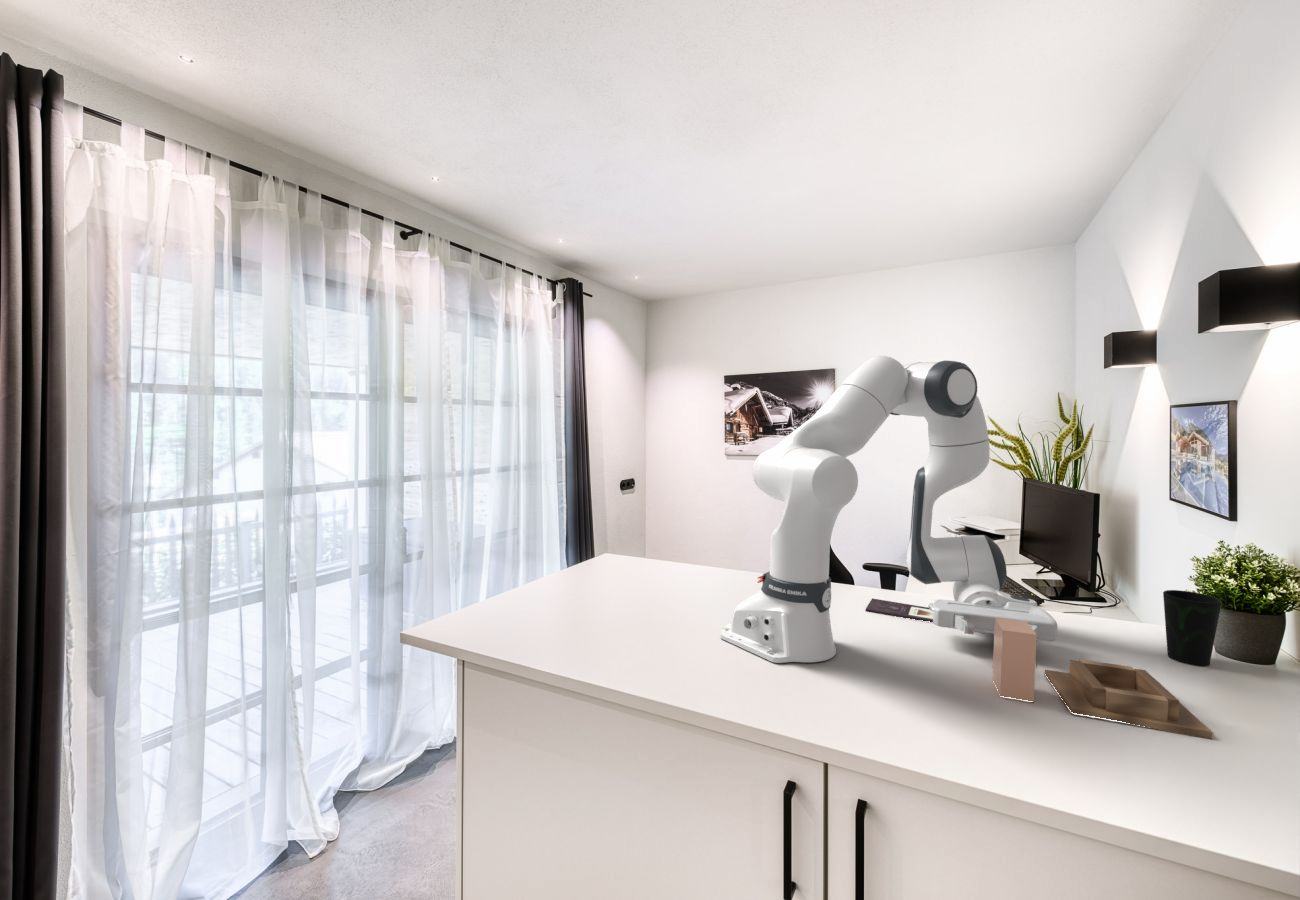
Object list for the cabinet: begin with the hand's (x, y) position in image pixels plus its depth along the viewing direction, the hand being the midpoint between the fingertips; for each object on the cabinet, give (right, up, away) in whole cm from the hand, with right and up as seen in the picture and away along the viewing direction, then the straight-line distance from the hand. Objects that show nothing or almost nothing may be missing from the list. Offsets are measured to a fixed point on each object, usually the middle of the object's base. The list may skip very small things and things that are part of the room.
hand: (999, 634), depth 97 cm
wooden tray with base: (+11, -7, -13) cm, 18 cm away
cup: (+38, -6, +4) cm, 38 cm away
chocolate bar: (-3, -5, +28) cm, 29 cm away
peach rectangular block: (-4, -6, -9) cm, 12 cm away
